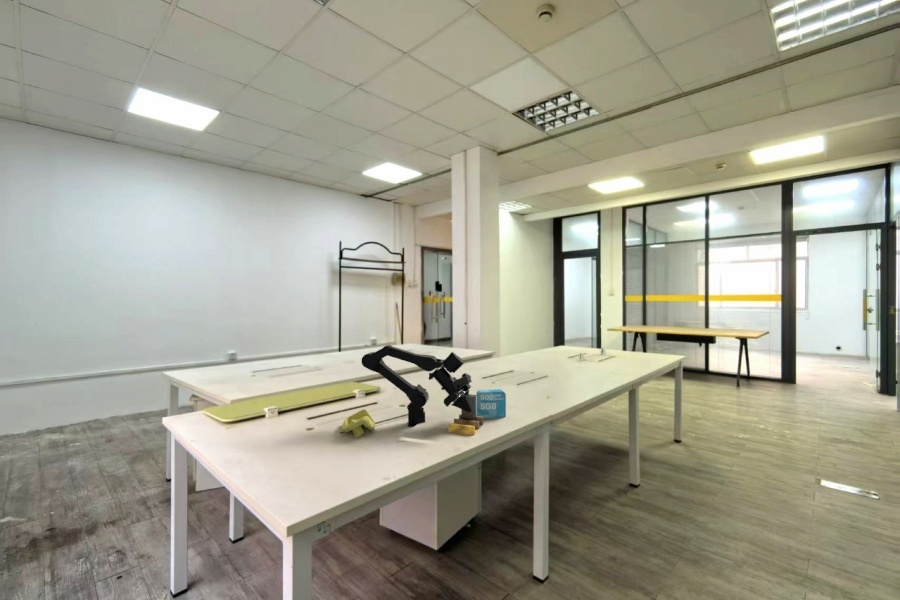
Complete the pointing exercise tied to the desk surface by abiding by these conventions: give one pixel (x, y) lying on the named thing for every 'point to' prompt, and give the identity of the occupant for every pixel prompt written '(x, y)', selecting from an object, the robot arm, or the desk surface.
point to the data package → (491, 403)
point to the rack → (466, 425)
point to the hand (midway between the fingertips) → (472, 410)
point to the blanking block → (472, 404)
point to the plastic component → (358, 423)
